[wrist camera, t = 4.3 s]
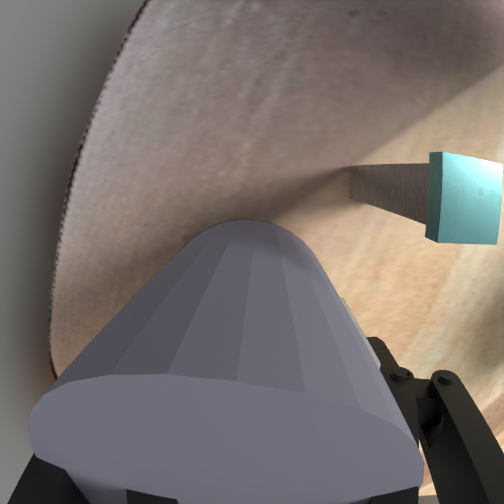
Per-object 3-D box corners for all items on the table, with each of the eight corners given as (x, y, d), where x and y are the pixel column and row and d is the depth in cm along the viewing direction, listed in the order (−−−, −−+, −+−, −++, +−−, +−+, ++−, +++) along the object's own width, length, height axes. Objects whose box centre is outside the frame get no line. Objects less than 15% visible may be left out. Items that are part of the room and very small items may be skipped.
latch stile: (346, 160, 17) (442, 151, 7) (385, 163, 17) (502, 164, 7) (345, 203, 18) (437, 242, 8) (384, 205, 18) (496, 244, 8)
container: (159, 224, 19) (-32, 342, 4) (326, 214, 18) (488, 340, 4) (182, 363, 21) (113, 544, 7) (323, 359, 21) (372, 552, 6)
